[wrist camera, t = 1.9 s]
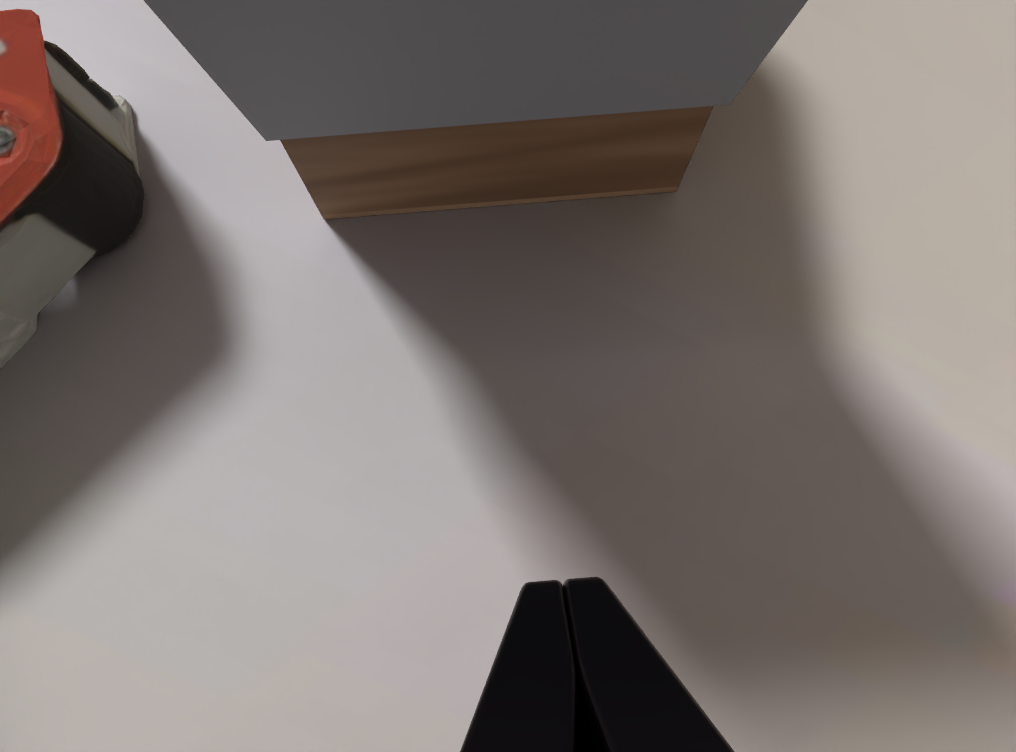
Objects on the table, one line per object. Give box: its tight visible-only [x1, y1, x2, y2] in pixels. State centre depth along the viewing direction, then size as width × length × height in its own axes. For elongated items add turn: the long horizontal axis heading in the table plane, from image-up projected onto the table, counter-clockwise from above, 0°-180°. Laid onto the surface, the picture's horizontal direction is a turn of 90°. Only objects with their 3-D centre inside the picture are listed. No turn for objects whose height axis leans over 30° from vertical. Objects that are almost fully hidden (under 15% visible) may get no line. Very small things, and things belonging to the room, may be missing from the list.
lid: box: [144, 0, 808, 141], centre depth 15 cm, size 8×10×1 cm
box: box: [280, 106, 713, 219], centre depth 23 cm, size 8×10×6 cm
